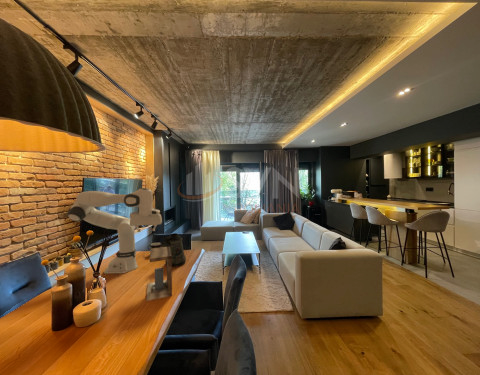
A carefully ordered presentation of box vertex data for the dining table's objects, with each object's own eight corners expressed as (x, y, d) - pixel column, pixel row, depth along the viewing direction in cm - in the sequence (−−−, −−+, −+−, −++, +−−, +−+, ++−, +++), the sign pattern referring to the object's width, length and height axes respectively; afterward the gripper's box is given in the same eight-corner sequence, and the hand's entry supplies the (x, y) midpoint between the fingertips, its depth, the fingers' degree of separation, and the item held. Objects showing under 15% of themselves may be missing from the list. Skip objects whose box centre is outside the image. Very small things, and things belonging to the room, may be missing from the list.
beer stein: (189, 260, 176) (189, 232, 176) (177, 269, 157) (176, 237, 157) (172, 258, 180) (172, 231, 180) (158, 267, 161) (158, 236, 161)
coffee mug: (163, 253, 194) (162, 243, 194) (155, 256, 186) (155, 245, 186) (154, 251, 199) (154, 241, 199) (146, 254, 191) (146, 244, 191)
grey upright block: (154, 291, 123) (154, 271, 123) (154, 287, 128) (154, 268, 128) (163, 289, 125) (163, 270, 125) (163, 285, 130) (163, 267, 130)
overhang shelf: (146, 300, 115) (145, 259, 114) (147, 284, 133) (147, 248, 133) (172, 295, 120) (171, 255, 120) (170, 280, 139) (169, 246, 138)
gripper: (128, 212, 134) (128, 233, 134) (160, 211, 138) (160, 231, 139) (131, 211, 140) (131, 231, 140) (162, 210, 144) (162, 229, 145)
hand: (146, 231), depth 139 cm, fingers open, 8 cm apart
